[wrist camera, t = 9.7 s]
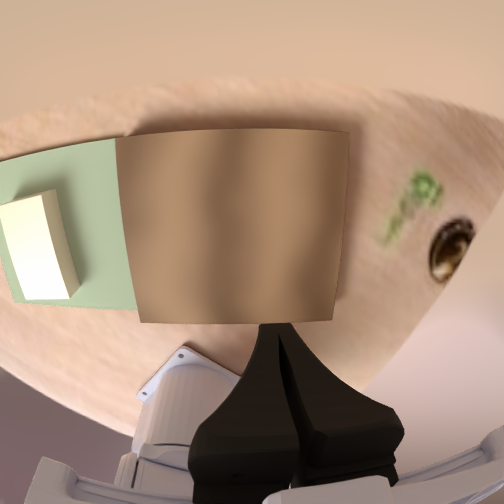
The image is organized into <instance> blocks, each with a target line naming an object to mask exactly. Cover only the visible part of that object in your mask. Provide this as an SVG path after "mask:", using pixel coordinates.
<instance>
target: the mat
mask: <svg viewBox="0 0 504 504" xmlns="http://www.w3.org/2000/svg"><path fill="white" fill-rule="evenodd" d="M53 189H56V193H57V198H58V203H59V208H60V213H61V217H62V221H63V226H64V230H65V234H66V238H67V242H68V246H69V249H70V253H71V257H72V260H73V264H74V267H75V270H76V274H77V277H78V280H79V283H80V288H79V289H78V290H77V291H76V292H75V293H74V294H73V296H72V297H71V298H70V299H26V298H25V296H24V293H23V290H22V288H21V285H20V282H19V279H18V277H17V274H16V271H15V268H14V265H13V262H12V258H11V255H10V252H9V249H8V245H7V242H6V238H5V234H4V231H3V227H2V223H1V219H0V257H1V261H2V265H3V268H4V272H5V275H6V278H7V281H8V284H9V288H10V291H11V293H12V296H13V299H14V302H17V303H28V304H38V305H50V306H63V307H77V308H93V309H113V310H138V308H137V304H136V299H135V294H134V289H133V284H132V279H131V273H130V268H129V262H128V256H127V250H126V244H125V237H124V230H123V223H122V215H121V207H120V198H119V188H118V178H117V166H116V151H115V138H113V139H107V140H100V141H94V142H88V143H82V144H76V145H71V146H66V147H61V148H56V149H51V150H46V151H42V152H38V153H33V154H29V155H25V156H21V157H17V158H13V159H10V160H6V161H2V162H0V205H2V204H4V203H6V202H9V201H11V200H13V199H17V198H21V197H24V196H28V195H32V194H36V193H40V192H44V191H48V190H53Z"/></svg>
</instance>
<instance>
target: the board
mask: <svg viewBox="0 0 504 504" xmlns="http://www.w3.org/2000/svg"><path fill="white" fill-rule="evenodd" d="M115 151H116V166H117V178H118V188H119V198H120V207H121V215H122V223H123V230H124V237H125V244H126V250H127V256H128V262H129V268H130V273H131V279H132V284H133V289H134V294H135V299H136V304H137V308H138V313H139V317H140V322H141V323H168V324H260V323H290V322H310V321H327V320H332V318H333V311H334V305H335V298H336V290H337V283H338V275H339V267H340V259H341V250H342V240H343V230H344V219H345V207H346V193H347V178H348V158H349V132H337V131H322V130H303V129H260V128H254V129H211V130H192V131H178V132H165V133H155V134H145V135H136V136H128V137H120V138H115Z"/></svg>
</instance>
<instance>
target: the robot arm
mask: <svg viewBox="0 0 504 504" xmlns="http://www.w3.org/2000/svg"><path fill="white" fill-rule="evenodd" d="M180 354H183V355H180ZM136 398H137V399H138V400H140V401H142V402H143V407H142V410H141V414H140V417H139V421H138V424H137V428H136V431H135V435H134V439H133V442H132V452H129V453H128V454H125V455H123V456H122V457H121V460H120V463H119V467H118V471H117V474H116V478H115V482H114V485H113V484H108V483H104V482H100V481H96V480H92V479H89V478H85V477H82V476H78V475H77V473H76V472H75V471H74V470H73V469H72V468H71V467H70V466H68V465H66V464H63V463H61V462H58V461H54V460H52V459H49V458H46V457H42V458H41V460H40V463H39V465H38V468H37V470H36V472H35V475H34V477H33V480H32V483H31V485H30V488H29V490H28V493H27V496H26V499H25V501H24V504H476V503H477V502H479V501H481V500H482V499H484V498H486V497H487V496H489V495H491V494H492V493H494V492H496V491H497V490H499V489H500V488H501V487H502V486H503V485H504V425H503V426H501V427H499V428H497V429H495V430H494V431H492V432H490V433H489V434H488V435H487V436H486V437H485V438H484V439H483V440H482V442H481V444H479V445H477V446H475V447H473V448H471V449H468V450H466V451H464V452H462V453H459V454H457V455H455V456H452V457H450V458H447V459H445V460H442V461H440V462H437V463H434V464H432V465H429V466H426V467H423V468H420V469H417V470H414V471H411V472H408V473H405V474H401V475H397V472H396V469H395V467H394V464H395V462H396V459H395V456H394V451H395V450H396V448H397V447H398V445H399V444H400V442H401V441H402V439H403V436H404V434H405V433H404V428H403V425H402V423H401V421H400V419H399V417H398V416H397V415H396V413H395V411H394V409H393V408H390V407H388V406H385V405H383V404H381V403H379V402H376V401H374V400H372V399H370V398H368V397H366V396H365V395H363V394H361V393H359V392H358V391H356V390H355V389H353V388H352V387H350V386H349V385H347V384H346V383H344V382H343V381H342V380H340V379H339V378H338V377H337V376H335V375H334V374H333V373H332V372H331V371H330V370H329V369H328V368H326V367H325V366H324V365H323V364H322V362H321V361H320V360H319V359H318V358H317V357H316V356H315V355H314V354H313V353H312V351H311V350H310V349H309V348H308V347H307V345H306V344H305V343H304V342H303V340H302V339H301V337H300V336H299V335H298V333H297V332H296V330H295V329H294V327H293V326H292V324H291V323H269V324H260V325H259V332H258V338H257V341H256V345H255V348H254V350H253V353H252V356H251V358H250V360H249V362H248V365H247V367H246V369H245V371H244V372H243V374H242V376H241V377H240V376H238V375H236V374H234V373H232V372H231V371H229V370H227V369H225V368H223V367H222V366H220V365H218V364H216V363H214V362H213V361H211V360H209V359H208V358H206V357H204V356H202V355H201V354H199V353H197V352H196V351H194V350H192V349H191V348H189V347H187V346H181V347H180V348H179V349H178V350H177V351H176V352H175V353H174V354H173V355H172V356H171V357H170V358H169V360H168V361H167V362H166V363H165V364H164V365H163V366H162V367H161V368H160V369H159V370H158V371H157V372H156V373H155V375H154V376H153V377H152V378H151V379H150V380H149V381H148V382H147V383H146V384H145V385H144V386H143V387H142V388H141V389H140V391H139V392H138V393H137V395H136ZM290 484H291V489H289V485H290Z"/></svg>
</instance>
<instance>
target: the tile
mask: <svg viewBox="0 0 504 504" xmlns="http://www.w3.org/2000/svg"><path fill="white" fill-rule="evenodd" d="M0 219H1V223H2V227H3V231H4V234H5V238H6V242H7V245H8V249H9V252H10V255H11V258H12V262H13V265H14V268H15V271H16V274H17V277H18V279H19V282H20V285H21V288H22V290H23V293H24V296H25V298H26V299H70V298H71V297H72V296H73V294H74V293H75V292H76V291H77V290H78V289H79V288H80V283H79V280H78V277H77V274H76V270H75V267H74V264H73V260H72V257H71V253H70V249H69V246H68V242H67V238H66V234H65V230H64V226H63V221H62V217H61V213H60V208H59V203H58V198H57V193H56V189H53V190H48V191H44V192H40V193H36V194H32V195H28V196H24V197H21V198H17V199H13V200H11V201H9V202H6V203H4V204H2V205H0Z"/></svg>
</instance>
